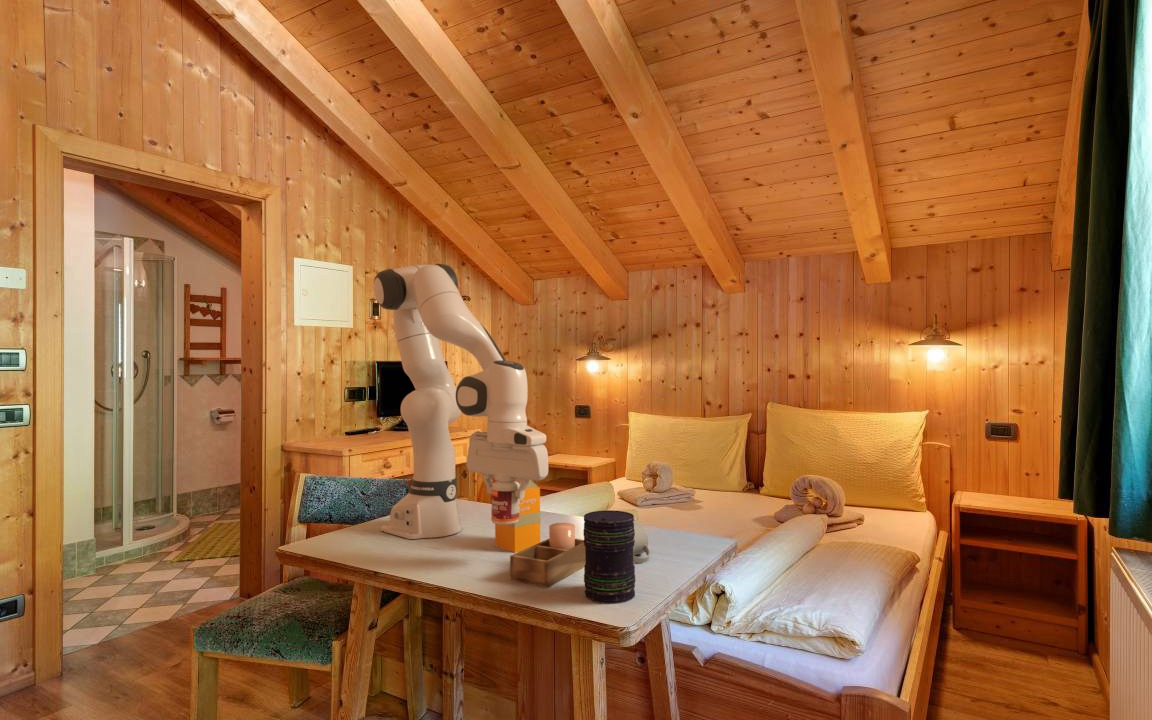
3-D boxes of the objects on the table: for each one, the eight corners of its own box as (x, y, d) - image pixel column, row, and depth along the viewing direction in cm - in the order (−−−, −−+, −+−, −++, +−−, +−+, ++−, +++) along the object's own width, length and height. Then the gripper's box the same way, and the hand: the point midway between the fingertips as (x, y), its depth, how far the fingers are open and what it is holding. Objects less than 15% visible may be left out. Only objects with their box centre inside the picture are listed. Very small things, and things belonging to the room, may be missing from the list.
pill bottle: (486, 523, 136) (486, 472, 137) (500, 517, 142) (501, 467, 142) (510, 527, 134) (511, 474, 134) (524, 520, 140) (524, 470, 140)
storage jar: (595, 583, 125) (594, 508, 126) (641, 589, 122) (640, 512, 122) (576, 599, 116) (575, 519, 116) (626, 607, 112) (625, 524, 113)
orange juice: (514, 553, 147) (513, 468, 147) (494, 545, 154) (493, 464, 154) (541, 546, 152) (540, 464, 152) (520, 539, 159) (520, 461, 159)
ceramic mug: (601, 555, 144) (601, 522, 144) (626, 549, 149) (626, 517, 149) (633, 567, 136) (633, 532, 136) (659, 560, 141) (659, 526, 141)
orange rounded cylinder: (544, 564, 136) (544, 527, 136) (558, 557, 140) (557, 521, 141) (566, 567, 133) (566, 530, 133) (579, 560, 138) (579, 524, 138)
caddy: (510, 580, 128) (510, 555, 128) (555, 557, 143) (555, 535, 143) (548, 587, 123) (547, 562, 123) (590, 563, 138) (590, 540, 138)
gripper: (461, 431, 141) (459, 492, 140) (537, 438, 130) (535, 504, 130) (478, 429, 146) (477, 488, 146) (552, 435, 136) (551, 499, 136)
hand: (505, 496), depth 138 cm, fingers closed on pill bottle, 6 cm apart
